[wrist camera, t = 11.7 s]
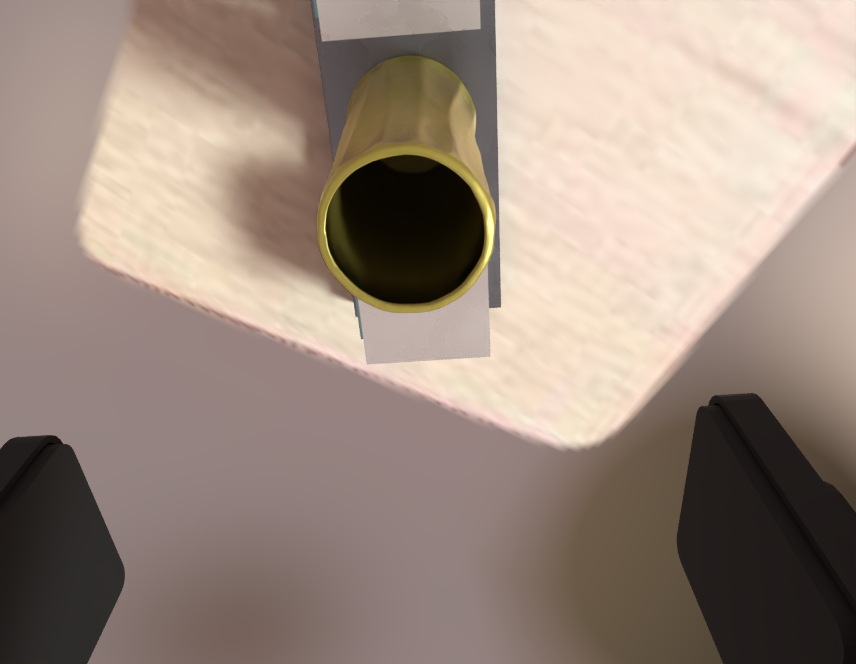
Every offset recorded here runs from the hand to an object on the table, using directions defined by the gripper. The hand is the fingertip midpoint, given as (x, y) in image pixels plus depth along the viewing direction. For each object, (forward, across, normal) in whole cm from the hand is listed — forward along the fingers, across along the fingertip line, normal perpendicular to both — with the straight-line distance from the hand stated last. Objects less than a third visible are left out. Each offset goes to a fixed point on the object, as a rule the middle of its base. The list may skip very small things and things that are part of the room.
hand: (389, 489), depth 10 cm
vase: (+25, 0, 0) cm, 25 cm away
